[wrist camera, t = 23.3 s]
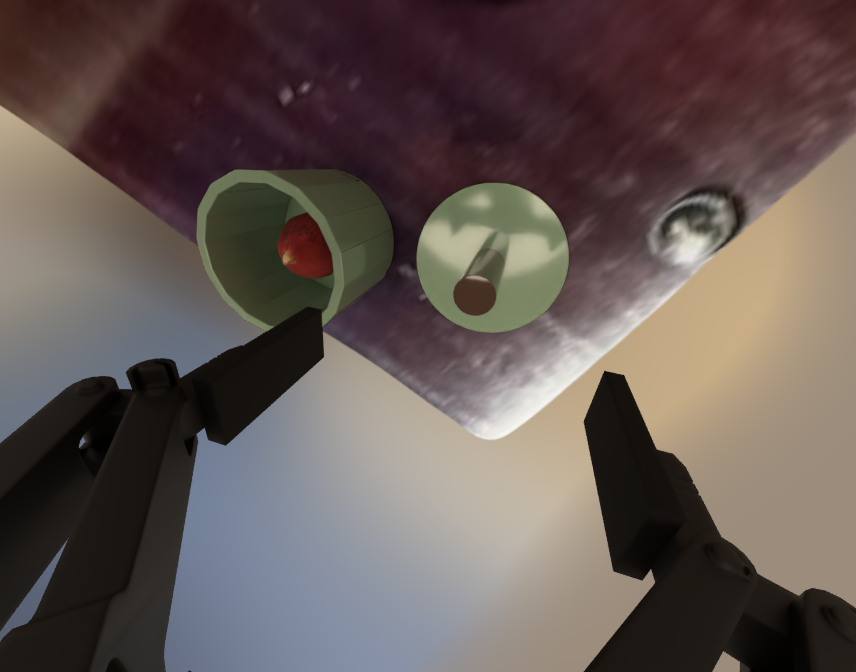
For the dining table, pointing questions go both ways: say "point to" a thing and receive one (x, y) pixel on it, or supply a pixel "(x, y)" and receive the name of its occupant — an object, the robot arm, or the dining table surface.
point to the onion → (305, 248)
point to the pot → (260, 230)
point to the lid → (492, 257)
